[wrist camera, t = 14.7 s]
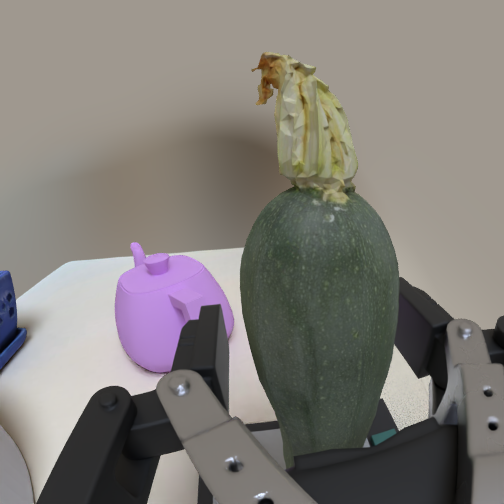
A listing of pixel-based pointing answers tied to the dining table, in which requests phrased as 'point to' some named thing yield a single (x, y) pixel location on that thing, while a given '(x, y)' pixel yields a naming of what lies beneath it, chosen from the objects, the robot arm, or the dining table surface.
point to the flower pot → (8, 320)
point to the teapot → (162, 305)
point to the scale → (273, 442)
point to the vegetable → (318, 275)
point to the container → (13, 473)
